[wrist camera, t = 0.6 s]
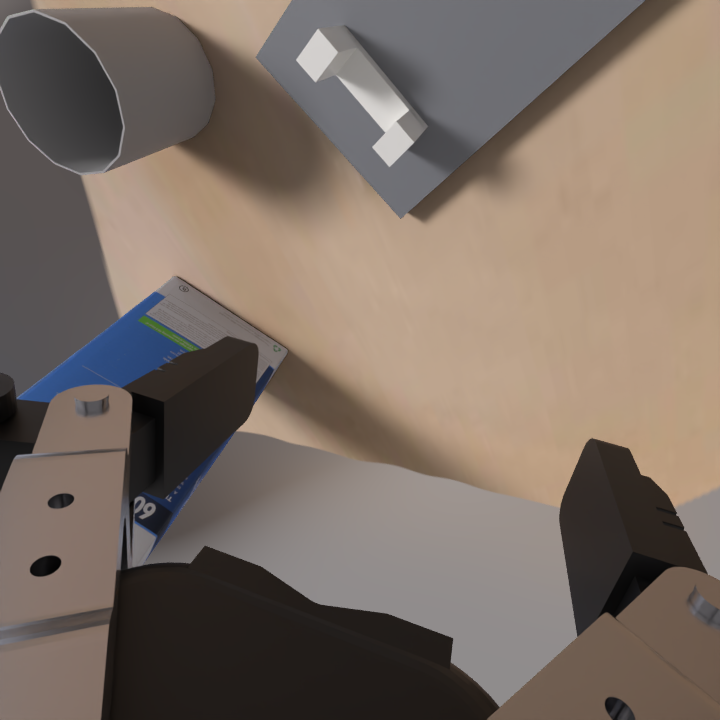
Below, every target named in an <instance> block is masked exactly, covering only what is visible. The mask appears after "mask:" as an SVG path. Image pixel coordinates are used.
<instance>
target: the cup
mask: <svg viewBox="0 0 720 720" xmlns="http://www.w3.org/2000/svg"><path fill="white" fill-rule="evenodd" d="M0 90H1V93H2V96H3V99H4V102H5V105H6V107H7V110H8V111H9V113H10V114H11V116H12V117H13V118H14V120H15V122H16V123H17V125H18V126H19V127H20V129H21V131H22V132H23V134H24V135H25V137H26V138H27V139H28V141H30V143H31V144H33V145H34V146H35V147H36V148H37V149H38V150H39V151H40V152H41V153H43V154H44V155H45V156H46V157H47V158H48V159H49V160H51V161H52V162H53V163H54V164H56V165H58V166H61V167H63V168H65V169H67V170H70V171H72V172H75V173H77V174H79V175H87V174H97V173H105V172H107V171H110V170H112V169H115V168H117V167H120V166H122V165H125V164H127V163H130V162H132V161H135V160H137V159H140V158H142V157H145V156H147V155H150V154H152V153H155V152H157V151H160V150H163V149H165V148H168V147H170V146H173V145H175V144H178V143H180V142H183V141H185V140H188V139H190V138H193V137H194V136H195V135H196V134H197V133H199V132H200V131H201V130H202V129H203V128H204V127H205V126H206V125H207V124H208V123H209V120H210V117H211V113H212V110H213V106H214V103H215V100H216V99H215V90H214V80H213V71H212V68H211V66H210V63H209V61H208V59H207V57H206V55H205V53H204V50H203V48H202V46H201V44H200V42H199V40H198V39H197V38H196V37H195V36H194V34H193V33H192V32H191V31H190V30H189V29H188V28H187V27H186V26H185V25H184V24H183V23H182V22H181V21H180V20H179V19H178V18H177V17H176V16H173V15H171V14H168V13H166V12H163V11H161V10H158V9H156V8H153V7H126V8H74V9H32V10H29V11H25V12H21V13H17V14H13V15H10V16H7V18H6V20H5V21H4V23H3V25H2V27H1V28H0Z"/></svg>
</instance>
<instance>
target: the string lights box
mask: <svg viewBox="0 0 720 720" xmlns="http://www.w3.org/2000/svg"><path fill="white" fill-rule="evenodd" d="M226 336H230V337H234V338H237V339H241V340H244V341H248V342H251V343H255V344H256V345H257V346H258V350H259V357H258V367H257V378H256V389H255V399H254V404H255V402H256V401H257V399H258V398H259V396H260V395H261V393H262V392H263V390H264V389H265V387H266V385H267V384H268V382H269V381H270V379H271V378H272V376H273V375H274V373H275V372H276V370H277V368H278V367H279V365H280V364H281V362H282V361H283V359H284V358H285V356H286V354H287V353H288V350H287V349H286V348H284V347H283V346H281V345H280V344H278V343H277V342H275V341H274V340H272V339H271V338H269V337H267V336H266V335H264V334H263V333H261V332H260V331H258V330H257V329H255V328H254V327H252V326H251V325H249V324H248V323H246V322H245V321H243V320H242V319H240V318H239V317H237V316H236V315H234V314H233V313H231V312H230V311H228V310H226V309H225V308H223V307H222V306H220V305H219V304H217V303H216V302H214V301H213V300H211V299H210V298H208V297H207V296H205V295H204V294H202V293H201V292H199V291H198V290H196V289H195V288H193V287H191V286H190V285H188V284H187V283H185V282H184V281H182V280H181V279H179V278H178V277H176V276H173V277H172V278H171V279H170V280H168V281H167V282H166V283H165V284H163V285H162V286H161V287H160V288H159V289H157V290H156V291H155V292H153V293H152V294H151V295H150V296H148V297H147V298H146V299H144V300H143V301H142V302H141V303H139V304H138V305H137V306H135V307H134V308H133V309H131V310H130V311H129V312H128V313H126V314H125V315H124V316H123V317H121V318H120V319H119V320H118V321H116V322H115V323H114V324H113V325H111V326H110V327H109V328H108V329H106V330H105V331H104V332H102V333H101V334H100V335H98V336H97V337H96V338H95V339H93V340H92V341H91V342H89V343H88V344H87V345H85V346H84V347H83V348H81V349H80V350H79V351H77V352H76V353H75V354H73V355H72V356H71V357H69V359H67V360H66V361H64V362H63V363H62V364H60V365H59V366H58V367H56V368H55V369H54V370H53V371H51V372H50V373H49V374H47V375H46V376H45V377H43V378H42V379H41V380H40V381H38V382H37V383H36V384H34V385H33V386H32V387H30V388H29V389H28V390H27V391H25V392H24V393H23V394H21V395H20V396H19V397H18V398H16V399H20V400H30V401H39V402H49V403H50V402H51V400H52V399H53V398H54V397H55V396H56V395H58V394H59V393H61V392H63V391H65V390H68V389H71V388H74V387H79V386H84V385H110V386H115V387H119V388H122V387H124V386H125V385H127V384H129V383H131V382H133V381H134V380H136V379H138V378H140V377H142V376H143V375H145V374H147V373H149V372H151V371H152V370H154V369H155V370H157V368H158V367H160V366H161V365H163V364H165V363H169V361H170V360H172V359H174V358H176V357H178V356H179V355H181V354H183V353H186V352H191V351H195V350H199V349H203V348H204V349H205V348H207V347H209V346H210V345H212V344H214V343H216V342H217V341H219V340H221V339H222V338H224V337H226ZM234 433H235V432H234ZM234 433H233V434H234ZM233 434H232V435H231V436H230V437H229V438H228V439H227V440H226V441H225V442H224V443H223V444H222V445H221V446H219V447H218V448H217V449H216V450H215V451H214V452H213V453H212V454H211V455H210V456H209V457H208V458H207V459H206V460H205V461H204V462H203V463H202V464H201V465H200V466H198V467H197V468H196V469H195V470H194V471H193V472H192V473H191V474H190V475H189V476H188V477H187V478H186V479H185V480H184V481H183V482H182V483H181V484H180V485H179V486H177V487H176V488H175V489H174V490H173V491H172V492H171V493H170V494H169V495H168V496H167V497H166V498H165V499H164V500H163V499H161V498H158V497H155V496H152V495H149V494H147V493H144V492H142V493H141V494H140V495H138V496H137V497H136V498H135V524H134V546H133V567H136V566H142V565H143V564H144V562H145V561H146V560H147V558H148V557H149V555H150V554H151V552H152V551H153V549H154V548H155V547H156V545H157V544H158V542H159V541H160V540H161V538H162V537H163V535H164V534H165V532H166V531H167V530H168V528H169V527H170V525H171V524H172V522H173V521H174V519H175V518H176V517H177V515H178V514H179V512H180V511H181V510H182V508H183V507H184V505H185V504H186V502H187V501H188V499H189V498H190V497H191V495H192V494H193V492H194V491H195V489H196V488H197V486H198V485H199V483H200V482H201V481H202V479H203V478H204V476H205V475H206V473H207V472H208V470H209V469H210V468H211V466H212V465H213V463H214V462H215V460H216V459H217V457H218V456H219V455H220V453H221V452H222V450H223V449H224V447H225V446H226V444H227V443H228V441H229V440H230V439H231V437H232V436H233Z"/></svg>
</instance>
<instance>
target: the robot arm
mask: <svg viewBox="0 0 720 720" xmlns="http://www.w3.org/2000/svg"><path fill="white" fill-rule="evenodd" d="M258 357H259V350H258V346H257V345H256V344H255V343H251V342H248V341H244V340H241V339H237V338H234V337H230V336H226V337H224V338H222V339H221V340H219V341H217V342H216V343H214V344H212V345H210V346H209V347H207V348H205V349H204V348H203V349H199V350H195V351H191V352H186V353H183V354H181V355H179V356H178V357H176V358H174V359H172V360H170V361H169V363H165V364H163V365H161V366H160V367H158V368H157V370H155V369H154V370H152V371H151V372H149V373H147V374H145V375H143V376H142V377H140V378H138V379H136V380H134V381H133V382H131V383H129V384H127V385H125V386H124V387H122V388H119V387H115V386H110V385H84V386H79V387H74V388H71V389H68V390H65V391H63V392H61V393H59V394H58V395H56V396H55V397H54V398H53V399H52V400H51V402H50V403H49V402H39V401H30V400H20V399H16V393H15V385H14V381H13V379H12V378H11V377H10V376H8V375H6V374H3V373H0V720H720V580H718V579H716V578H714V577H712V576H710V575H708V574H707V571H706V569H705V568H704V566H703V564H702V562H701V560H700V558H699V556H698V554H697V552H696V550H695V548H694V546H693V544H692V542H691V540H690V538H689V536H688V534H687V532H686V531H684V526H683V524H682V522H681V520H680V518H679V517H678V516H676V514H677V512H676V510H675V508H674V507H673V505H672V503H671V501H670V499H669V497H668V495H667V494H666V493H665V492H664V491H663V490H662V489H661V488H660V487H659V486H658V485H657V484H656V483H655V482H654V481H653V480H652V479H651V478H650V477H646V476H643V475H641V474H640V471H639V469H638V467H637V465H636V463H635V460H634V458H633V456H632V454H631V452H630V450H629V449H628V448H625V447H622V446H618V445H614V444H611V443H607V442H604V441H600V440H597V439H593V438H592V439H590V440H589V441H588V442H587V443H586V445H585V447H584V449H583V451H582V454H581V456H580V458H579V461H578V463H577V465H576V468H575V470H574V472H573V475H572V477H571V479H570V482H569V484H568V486H567V489H566V491H565V493H564V496H563V499H562V503H561V507H560V515H559V521H560V529H561V535H562V541H563V547H564V554H565V560H566V566H567V573H568V579H569V586H570V592H571V598H572V604H573V611H574V618H575V624H576V630H577V638H576V639H575V640H574V641H573V642H572V643H570V644H569V645H568V646H567V647H566V648H565V649H564V650H563V651H562V652H561V653H560V654H558V655H557V656H556V657H555V658H554V659H553V660H552V661H551V662H549V663H548V664H547V665H546V666H545V667H544V668H543V669H542V670H541V671H540V672H538V673H537V674H536V675H535V676H534V677H533V678H532V679H531V680H530V681H529V682H527V683H526V684H525V685H524V686H523V687H522V688H521V689H520V690H519V691H518V692H516V693H515V694H514V695H513V696H512V697H511V698H510V699H509V700H508V701H506V703H504V704H503V705H502V706H501V707H499V706H498V705H497V704H496V703H495V701H494V700H493V699H492V698H491V696H490V695H489V694H488V693H487V692H486V691H485V690H484V689H483V688H482V687H481V686H480V685H479V684H478V683H477V682H475V681H474V680H473V679H472V678H471V677H469V676H468V675H467V674H466V673H464V672H463V671H462V670H461V669H459V668H458V667H456V666H455V665H454V664H452V663H451V653H452V644H453V638H451V637H448V636H445V635H443V634H440V633H437V632H435V631H432V630H429V629H427V628H424V627H421V626H419V625H416V624H413V623H411V622H408V621H405V620H403V619H400V618H397V617H395V616H392V615H389V614H385V613H378V612H370V611H363V610H355V609H348V608H340V607H333V606H325V605H320V604H317V603H315V602H313V601H311V600H309V599H308V598H306V597H305V596H303V595H302V594H300V593H299V592H298V591H296V590H294V589H293V588H292V587H290V586H289V585H287V584H286V583H284V582H283V581H281V580H280V579H279V578H277V577H276V576H274V575H273V574H271V573H269V572H268V571H267V570H265V569H264V568H262V567H261V566H258V565H255V564H252V563H250V562H247V561H244V560H242V559H239V558H236V557H234V556H231V555H228V554H226V553H223V552H220V551H218V550H215V549H212V548H210V547H207V546H204V548H203V549H202V550H201V551H200V553H199V554H198V555H197V556H196V558H195V559H194V560H193V561H192V562H191V564H188V563H157V564H148V565H142V566H136V567H133V546H134V524H135V498H136V497H137V496H138V495H140V494H141V493H142V492H144V493H147V494H149V495H152V496H155V497H158V498H161V499H163V500H164V499H165V498H166V497H167V496H168V495H169V494H170V493H171V492H172V491H173V490H174V489H175V488H176V487H177V486H179V485H180V484H181V483H182V482H183V481H184V480H185V479H186V478H187V477H188V476H189V475H190V474H191V473H192V472H193V471H194V470H195V469H196V468H197V467H198V466H200V465H201V464H202V463H203V462H204V461H205V460H206V459H207V458H208V457H209V456H210V455H211V454H212V453H213V452H214V451H215V450H216V449H217V448H218V447H219V446H221V445H222V444H223V443H224V442H225V441H226V440H227V439H228V438H229V437H230V436H231V435H232V434H233V433H234V432H235V431H236V430H237V429H238V428H239V427H240V426H242V425H243V424H244V423H245V421H246V420H247V419H248V417H249V415H250V413H251V411H252V408H253V405H254V399H255V389H256V378H257V367H258Z"/></svg>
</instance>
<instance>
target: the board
mask: <svg viewBox="0 0 720 720" xmlns="http://www.w3.org/2000/svg"><path fill="white" fill-rule="evenodd" d="M644 1H645V0H292V1H291V3H290V4H289V6H288V7H287V9H286V10H285V12H284V14H283V15H282V17H281V18H280V20H279V21H278V23H277V25H276V26H275V28H274V29H273V31H272V32H271V34H270V36H269V37H268V39H267V40H266V42H265V43H264V45H263V47H262V48H261V50H260V51H259V53H258V54H257V56H256V58H257V59H258V61H259V62H260V63H261V64H262V65H263V66H264V67H265V68H266V69H267V71H268V72H269V73H270V74H271V75H272V76H273V77H274V78H275V79H276V81H277V82H278V83H279V84H280V85H281V86H282V87H283V88H284V89H285V91H286V92H287V93H288V94H289V95H290V96H291V97H292V98H293V99H294V101H295V102H296V103H297V104H298V105H299V106H300V107H301V108H302V109H303V111H304V112H305V113H306V114H307V115H308V116H309V117H310V118H311V120H312V121H313V122H314V123H315V124H316V125H317V126H318V127H319V128H320V130H321V131H322V132H323V133H324V134H325V135H326V136H327V137H328V138H329V140H330V141H331V142H332V143H333V144H334V145H335V146H336V147H337V148H338V150H339V151H340V152H341V153H342V154H343V155H344V156H345V157H346V158H347V160H348V161H349V162H350V163H351V164H352V165H353V166H354V167H355V168H356V170H357V171H358V172H359V173H360V174H361V175H362V176H363V177H364V179H365V180H366V181H367V182H368V183H369V184H370V185H371V186H372V187H373V189H374V190H375V191H376V192H377V193H378V194H379V195H380V196H381V197H382V199H383V200H384V201H385V202H386V203H387V204H388V205H389V206H390V207H391V209H392V210H393V211H394V212H395V213H396V214H397V215H398V216H399V217H400V219H401V218H402V217H403V216H404V215H405V214H407V213H408V212H409V211H410V210H411V209H412V208H413V207H414V206H416V205H417V204H418V203H419V202H420V201H421V200H422V199H423V198H424V197H426V196H427V195H428V194H429V193H430V192H431V191H432V190H433V189H435V188H436V187H437V186H438V185H439V184H440V183H441V182H442V181H444V180H445V179H446V178H447V177H448V176H449V175H450V174H451V173H452V172H454V171H455V170H456V169H457V168H458V167H459V166H460V165H461V164H463V163H464V162H465V161H466V160H467V159H468V158H469V157H470V156H472V155H473V154H474V153H475V152H476V151H477V150H478V149H479V148H480V147H482V146H483V145H484V144H485V143H486V142H487V141H488V140H489V139H491V138H492V137H493V136H494V135H495V134H496V133H497V132H498V131H500V130H501V129H502V128H503V127H504V126H505V125H506V124H507V123H508V122H510V121H511V120H512V119H513V118H514V117H515V116H516V115H517V114H519V113H520V112H521V111H522V110H523V109H524V108H525V107H526V106H528V105H529V104H530V103H531V102H532V101H533V100H534V99H535V98H536V97H538V96H539V95H540V94H541V93H542V92H543V91H544V90H545V89H547V88H548V87H549V86H550V85H551V84H552V83H553V82H554V81H556V80H557V79H558V78H559V77H560V76H561V75H562V74H563V73H564V72H566V71H567V70H568V69H569V68H570V67H571V66H572V65H573V64H575V63H576V62H577V61H578V60H579V59H580V58H581V57H582V56H584V55H585V54H586V53H587V52H588V51H589V50H590V49H591V48H592V47H594V46H595V45H596V44H597V43H598V42H599V41H600V40H601V39H603V38H604V37H605V36H606V35H607V34H608V33H609V32H610V31H612V30H613V29H614V28H615V27H616V26H617V25H618V24H619V23H620V22H622V21H623V20H624V19H625V18H626V17H627V16H628V15H629V14H631V13H632V12H633V11H634V10H635V9H636V8H637V7H638V6H640V5H641V4H642V3H643V2H644Z"/></svg>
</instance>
